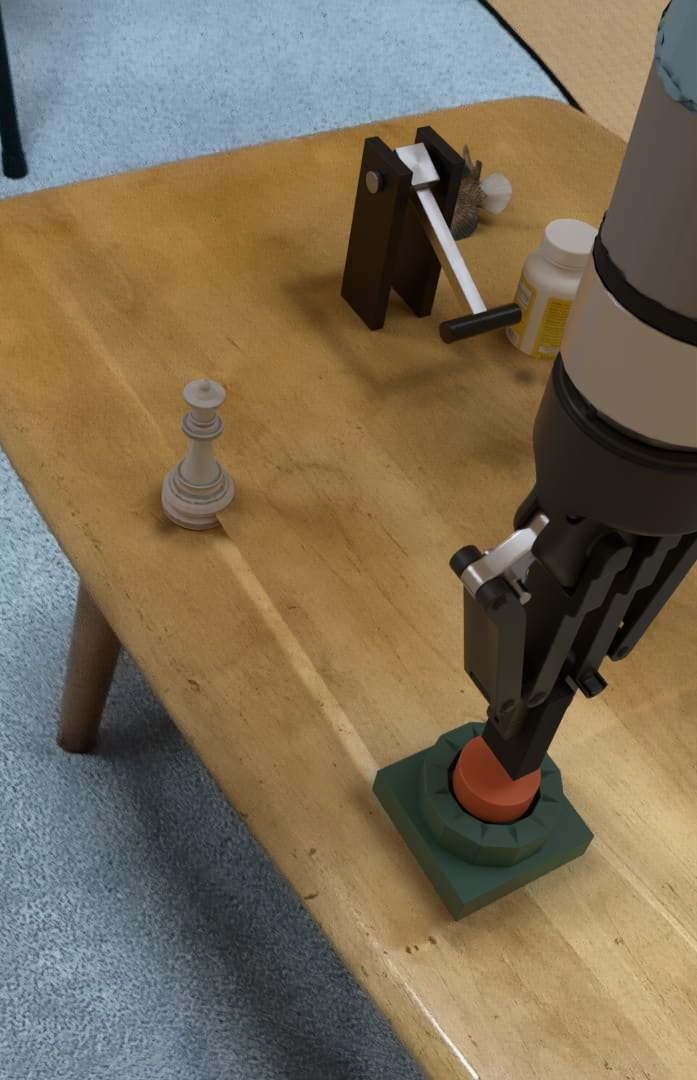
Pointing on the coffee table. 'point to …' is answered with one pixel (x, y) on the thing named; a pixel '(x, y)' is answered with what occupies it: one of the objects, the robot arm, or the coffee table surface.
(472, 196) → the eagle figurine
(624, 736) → the coffee table surface
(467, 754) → the button
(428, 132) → the press bracket
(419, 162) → the press lever
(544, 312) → the supplement bottle
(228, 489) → the chess piece
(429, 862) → the button base
